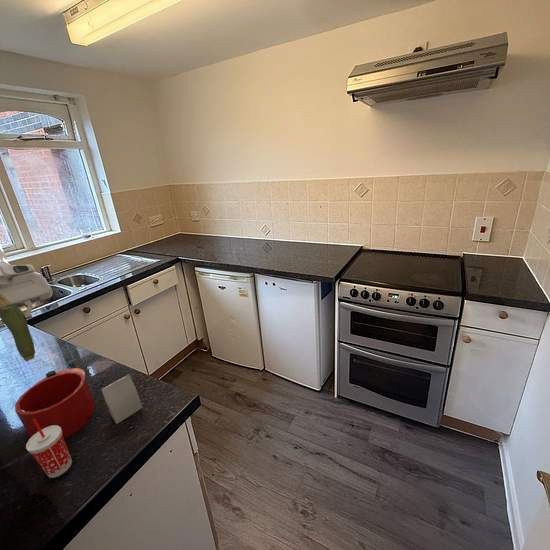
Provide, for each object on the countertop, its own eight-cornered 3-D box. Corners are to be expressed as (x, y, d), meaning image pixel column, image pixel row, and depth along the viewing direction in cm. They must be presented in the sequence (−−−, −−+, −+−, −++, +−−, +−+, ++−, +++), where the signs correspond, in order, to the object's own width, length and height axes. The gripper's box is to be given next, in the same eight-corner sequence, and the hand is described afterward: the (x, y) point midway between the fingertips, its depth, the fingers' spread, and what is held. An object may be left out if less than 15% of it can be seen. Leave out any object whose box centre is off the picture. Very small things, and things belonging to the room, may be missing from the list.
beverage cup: (71, 449, 69) (47, 403, 64) (79, 464, 65) (55, 416, 60) (40, 470, 65) (12, 422, 60) (47, 487, 61) (18, 438, 56)
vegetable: (25, 357, 83) (-7, 291, 76) (44, 351, 85) (13, 287, 77) (21, 365, 79) (-14, 297, 72) (41, 359, 81) (8, 292, 74)
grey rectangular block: (142, 407, 79) (132, 377, 76) (116, 424, 75) (103, 393, 71) (137, 401, 82) (126, 371, 78) (111, 416, 78) (99, 386, 74)
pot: (33, 455, 69) (15, 425, 66) (29, 420, 80) (14, 392, 76) (101, 418, 77) (89, 389, 74) (90, 390, 88) (79, 364, 85)
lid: (27, 417, 81) (18, 401, 79) (24, 389, 92) (17, 374, 90) (90, 386, 90) (84, 371, 88) (81, 364, 101) (75, 350, 99)
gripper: (-64, 289, 71) (-44, 337, 68) (38, 262, 84) (59, 301, 81) (-54, 301, 76) (-35, 346, 73) (41, 274, 89) (61, 312, 86)
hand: (16, 322), depth 77 cm, fingers closed on vegetable, 4 cm apart
